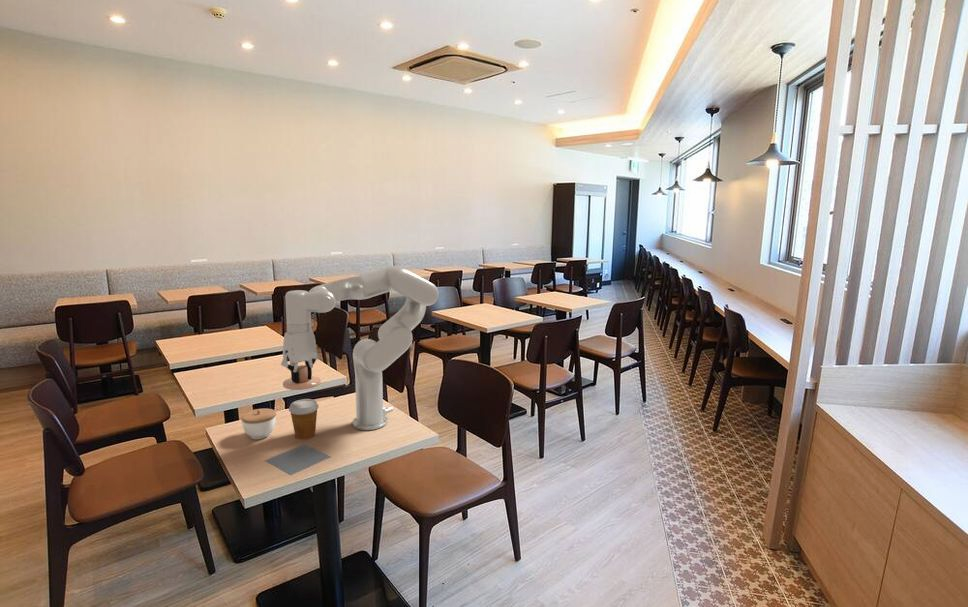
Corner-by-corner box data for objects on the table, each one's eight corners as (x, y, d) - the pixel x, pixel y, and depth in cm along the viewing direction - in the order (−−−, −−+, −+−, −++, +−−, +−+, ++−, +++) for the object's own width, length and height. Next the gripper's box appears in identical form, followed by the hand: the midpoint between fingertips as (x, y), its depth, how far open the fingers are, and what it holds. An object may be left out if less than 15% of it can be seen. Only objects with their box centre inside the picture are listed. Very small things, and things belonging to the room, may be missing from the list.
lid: (307, 375, 173) (306, 359, 172) (328, 382, 167) (327, 366, 165) (275, 384, 164) (274, 367, 163) (296, 392, 157) (295, 375, 156)
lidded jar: (238, 435, 169) (236, 409, 168) (269, 426, 177) (268, 401, 175) (249, 445, 162) (247, 418, 160) (282, 435, 169) (280, 410, 167)
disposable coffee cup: (324, 436, 169) (323, 404, 166) (297, 445, 162) (295, 411, 160) (312, 428, 175) (310, 396, 173) (285, 436, 169) (283, 403, 167)
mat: (305, 445, 162) (305, 444, 162) (331, 458, 154) (331, 456, 154) (265, 462, 151) (264, 460, 151) (290, 476, 143) (290, 474, 143)
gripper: (314, 322, 171) (316, 372, 174) (269, 330, 157) (272, 384, 161) (327, 325, 166) (329, 376, 169) (282, 334, 153) (285, 389, 156)
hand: (301, 380), depth 165 cm, fingers closed on lid, 4 cm apart
